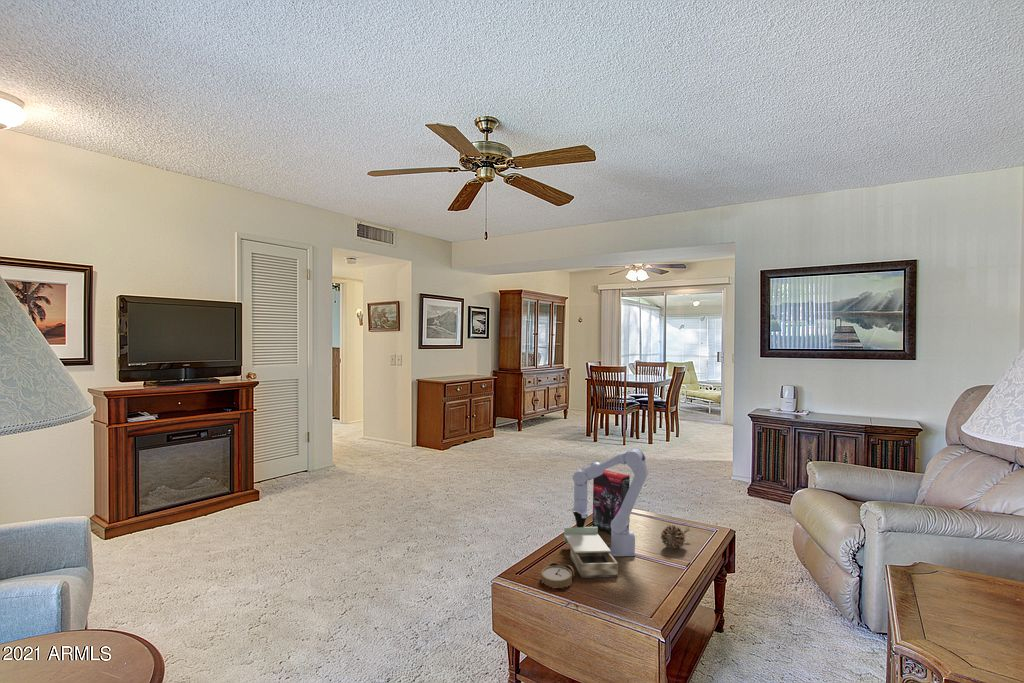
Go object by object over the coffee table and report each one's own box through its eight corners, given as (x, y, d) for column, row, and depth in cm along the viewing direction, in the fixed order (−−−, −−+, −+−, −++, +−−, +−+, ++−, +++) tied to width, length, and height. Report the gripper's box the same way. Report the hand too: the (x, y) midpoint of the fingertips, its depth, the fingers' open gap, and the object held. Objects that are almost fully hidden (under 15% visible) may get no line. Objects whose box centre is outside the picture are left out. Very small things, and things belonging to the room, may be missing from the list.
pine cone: (677, 556, 211) (678, 532, 211) (655, 550, 217) (655, 526, 217) (696, 541, 228) (696, 519, 228) (675, 536, 234) (676, 514, 234)
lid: (596, 540, 220) (597, 526, 220) (610, 559, 200) (610, 543, 200) (564, 541, 218) (564, 527, 218) (574, 560, 199) (575, 544, 199)
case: (603, 557, 208) (604, 544, 209) (617, 576, 191) (618, 563, 191) (570, 557, 207) (570, 545, 207) (581, 577, 189) (581, 564, 189)
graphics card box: (591, 527, 243) (592, 470, 243) (600, 524, 248) (601, 468, 248) (621, 538, 230) (622, 477, 231) (629, 534, 235) (630, 475, 236)
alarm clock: (536, 577, 183) (550, 555, 196) (536, 590, 183) (551, 567, 197) (565, 584, 178) (578, 560, 191) (566, 597, 179) (579, 573, 192)
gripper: (567, 493, 227) (567, 524, 227) (575, 503, 213) (574, 535, 213) (583, 493, 228) (582, 523, 228) (591, 503, 214) (591, 535, 214)
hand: (580, 529), depth 220 cm, fingers closed
